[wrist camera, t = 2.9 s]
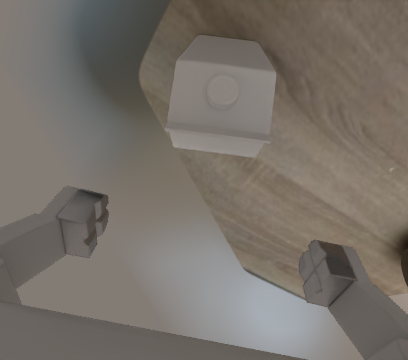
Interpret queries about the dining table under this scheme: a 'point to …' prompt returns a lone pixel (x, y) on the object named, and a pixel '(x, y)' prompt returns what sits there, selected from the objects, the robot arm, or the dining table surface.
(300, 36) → the dining table surface
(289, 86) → the dining table surface
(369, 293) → the robot arm
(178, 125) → the milk carton
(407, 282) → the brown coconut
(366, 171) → the dining table surface
